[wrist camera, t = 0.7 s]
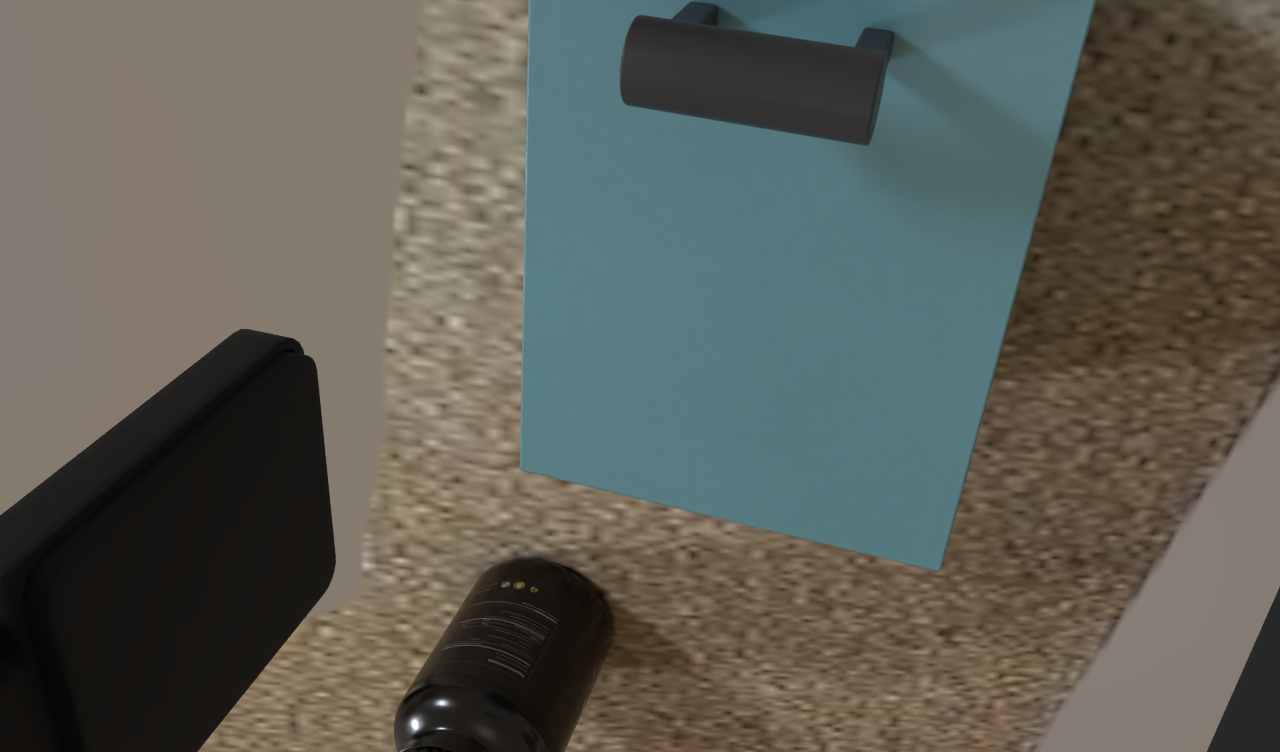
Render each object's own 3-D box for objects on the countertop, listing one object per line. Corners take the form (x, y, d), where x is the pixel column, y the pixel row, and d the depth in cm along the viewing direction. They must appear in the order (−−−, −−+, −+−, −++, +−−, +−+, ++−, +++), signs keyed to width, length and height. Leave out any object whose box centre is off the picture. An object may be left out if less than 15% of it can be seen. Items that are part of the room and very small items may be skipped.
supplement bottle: (622, 678, 54) (527, 903, 44) (486, 655, 56) (366, 866, 46) (611, 561, 50) (504, 776, 41) (466, 541, 52) (332, 742, 42)
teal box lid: (542, -113, 27) (438, -70, 23) (1104, -40, 24) (1116, 26, 20) (528, 456, 36) (452, 571, 31) (942, 555, 33) (925, 696, 29)
